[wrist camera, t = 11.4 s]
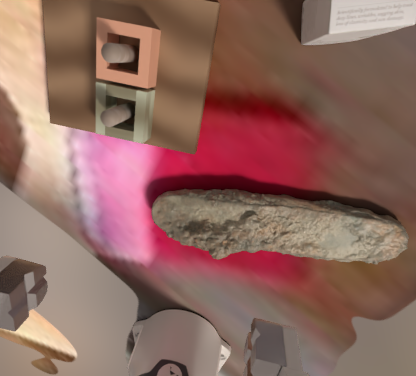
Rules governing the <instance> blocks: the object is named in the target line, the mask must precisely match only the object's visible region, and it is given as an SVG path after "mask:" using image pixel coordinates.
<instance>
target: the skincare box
mask: <svg viewBox="0 0 416 376" xmlns="http://www.w3.org/2000/svg"><path fill="white" fill-rule="evenodd" d="M415 23H416V0H305V1H304V2H303V8H302V28H301V44H302V45H321V44H333V43H342V42H350V41H357V40H360V39H364V38H368V37H372V36H376V35H379V34H383V33H387V32H391V31H394V30H397V29H400V28H404V27H407V26H412V25H415Z"/></svg>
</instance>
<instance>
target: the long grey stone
mask: <svg viewBox="0 0 416 376" xmlns="http://www.w3.org/2000/svg"><path fill="white" fill-rule="evenodd" d="M152 218H153V220H154V223H155V224H156V225H158V226H159V227H160V228H161V229H163V231H165V232H166V234H167V236H168V237H171V238H173V239H174V240H177V241H180V243H181V244H182V245H188V246H195V247H196V248H200V249H202V250H206V251H209V254H211V255H212V257H213V258H214V259H218V260H219V259H222V258H224V257H227V256H228V255H229V254H231V253H235V252H240V251H248V252H250V253H254V252H257V251H260V250H264V251H265V250H266V251H276V252H280V253H282V254H290V255H294V256H299V257H304V256H305V257H312V258H315V259H325V260H333V259H334V260H337V261H341V262H351V261H364V262H366V263H373V264H378V262H381V261H384V260H390V259H392V258H395V257H397V256H398V255H399V254H400V253H401V252H402V251H404V250H405V249H407V242H408V238H409V236H408V235H407V233H406V230H405V228H404V227H403V226H402V224H401V222H399V221H398V220H395V219H394V218H393V217H391V216H388V215H377V214H375V213H373V212H372V211H370V210H368V209H363V208H353V207H352V206H350V205H343V204H340V203H338V202H335V201H332V200H327V201H325V200H321V201H317V200H316V201H308V200H303V199H296V198H294V197H291V196H289V195H285V194H283V195H270V194H265V195H264V194H258V193H250V192H247V191H243V190H241V191H240V190H238V189H225V190H218V189H211V190H203V189H192V190H189V189H183V190H176V191H167V192H164V193H163V194H162V195H159V196H158V197H157V199H156V200H155V201H154V203H153V206H152Z"/></svg>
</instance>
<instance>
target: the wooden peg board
mask: <svg viewBox="0 0 416 376" xmlns="http://www.w3.org/2000/svg"><path fill="white" fill-rule="evenodd" d="M220 6H221V5H220V4H219V3H217V2H212V1H206V0H43V16H44V32H45V47H46V63H47V79H48V95H49V110H50V123H53V124H57V125H62V126H66V127H71V128H76V129H80V130H85V131H89V132H94V133H96V134H101V135H106V136H110V137H115V138H119V139H124V140H129V141H133V142H138V143H142V144H143V143H144V144H149V145H154V146H158V147H163V148H167V149H172V150H177V151H181V152H186V153H190V154H195V153H196V151H197V145H198V139H199V133H200V127H201V121H202V115H203V109H204V103H205V97H206V91H207V85H208V79H209V72H210V66H211V60H212V54H213V48H214V42H215V36H216V30H217V24H218V18H219V12H220ZM97 17H99V18H104V19H109V20H114V21H119V22H124V23H130V24H135V25H140V26H145V27H150V28H154V29H158V30H161V36H160V47H159V57H158V68H157V79H156V86H155V87H151V88H148V89H147V88H142V87H137V86H132V85H128V84H123V83H118V82H113V81H108V80H103V79H99V78H96V35H97ZM139 50H140V39H139V38H134V37H129V36H124V35H119V44H117V43H105V44H104V45H103V46H102V48H101V54H102V57H103V59H104V60H105V61H107V62H109V63H118V68H121V69H126V70H131V71H136V72H138V65H139Z"/></svg>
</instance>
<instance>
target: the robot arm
mask: <svg viewBox="0 0 416 376" xmlns="http://www.w3.org/2000/svg"><path fill="white" fill-rule="evenodd" d="M45 274H46V267H45V266H43V265H40V264H36V263H33V262H29V261H26V260H22V259H18V258H14V257H10V256H4V257H1V258H0V328H2V329H7V330H11V331H16V330H17V329H18V328H19V327H20V326H21V324H22V323H23V322H24V321H25V320H26V319H27V318H28V317H29V310H31V309H33V308H35V307H37V306H38V305H39V304H40V303H41V301H42V300H43V298H44V296H45V294H46V292H47V281H46V280H45V279H44V277H43V276H44V275H45ZM132 331H133V336H134V342H135V346H134V349H133V352H132V354H131V357H130V360H129V363H128V366H127V369H128V370H129V376H218V372H219V370H220V369H221V367H222V366H223V364H224V363H225V361H226V360H227V358H228V357H229V355H230V352H231V347H230V346H229V345H228V344H227V343H226V342H225V341H223V340H222V339H221V338H220V337H219V335H218V333H217V331H216V330H215V328H214V327H213V326H212V325H211V324H210V323H209V322H208V321H207V320H205V319H204V318H202V317H200V316H199V315H196V314H194V313H191V312H188V311H184V310H164V311H160V312H158V313H156V314H154V315H153V316H151V317H150V318H148V319H146V320H141V321H137V322H135V323H134V325H133V328H132ZM244 362H245V364H246V367H245V369H244V372H243V376H309V374H308V373H306V372H303V367H302V361H301V355H300V349H299V342H298V336H297V330H296V329H295V328H294V327H290V326H286V325H282V324H278V323H274V322H270V321H265V320H261V319H257V318H254V319H253V321H252V324H251V332H249V333H248V336H247V339H246V343H245V349H244Z"/></svg>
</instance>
